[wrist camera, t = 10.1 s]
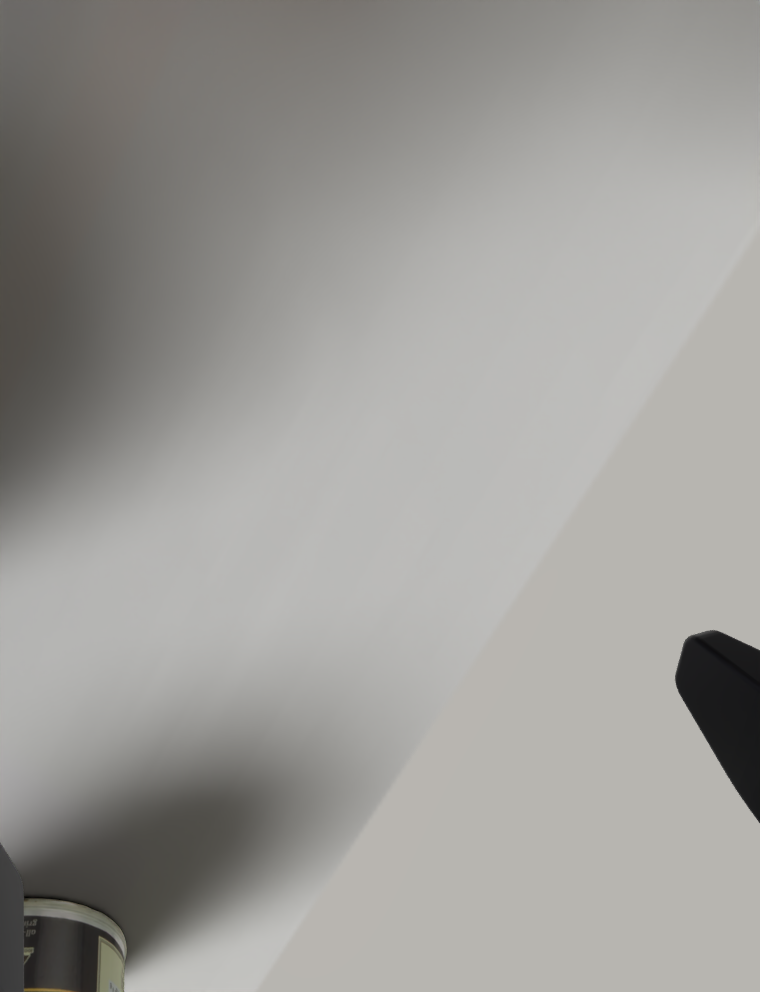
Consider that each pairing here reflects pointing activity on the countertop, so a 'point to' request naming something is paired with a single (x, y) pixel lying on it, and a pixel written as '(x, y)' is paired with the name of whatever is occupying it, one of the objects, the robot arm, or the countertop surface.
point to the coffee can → (71, 948)
